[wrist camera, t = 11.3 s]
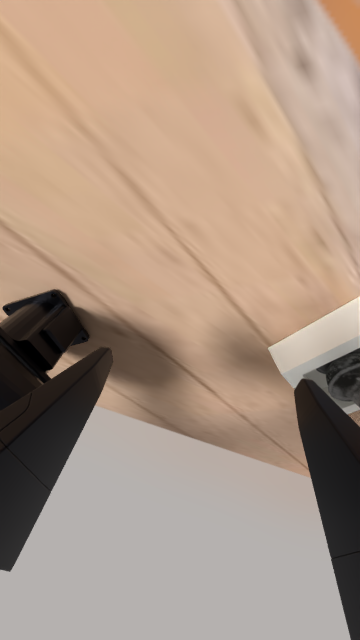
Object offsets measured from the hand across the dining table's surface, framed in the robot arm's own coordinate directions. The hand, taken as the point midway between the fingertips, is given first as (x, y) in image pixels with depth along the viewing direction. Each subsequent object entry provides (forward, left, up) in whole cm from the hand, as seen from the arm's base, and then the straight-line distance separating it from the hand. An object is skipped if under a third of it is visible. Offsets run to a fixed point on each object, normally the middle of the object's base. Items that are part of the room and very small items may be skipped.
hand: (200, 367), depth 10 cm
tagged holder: (+13, -14, -12) cm, 22 cm away
